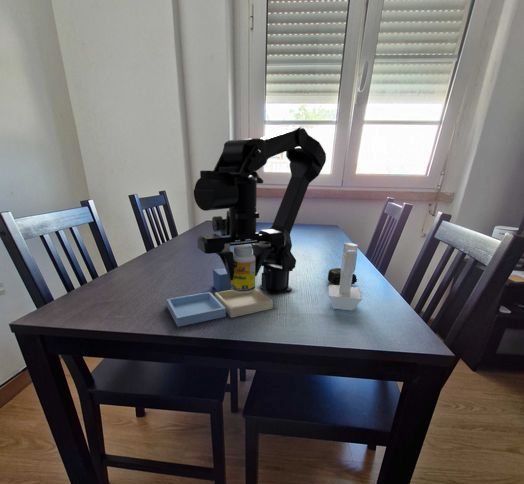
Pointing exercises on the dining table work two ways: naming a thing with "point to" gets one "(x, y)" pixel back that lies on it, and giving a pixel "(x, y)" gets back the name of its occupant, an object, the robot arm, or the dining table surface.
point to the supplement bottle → (243, 269)
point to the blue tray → (195, 308)
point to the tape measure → (338, 276)
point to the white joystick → (346, 282)
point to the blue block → (221, 280)
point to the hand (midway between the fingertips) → (243, 277)
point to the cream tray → (243, 302)
